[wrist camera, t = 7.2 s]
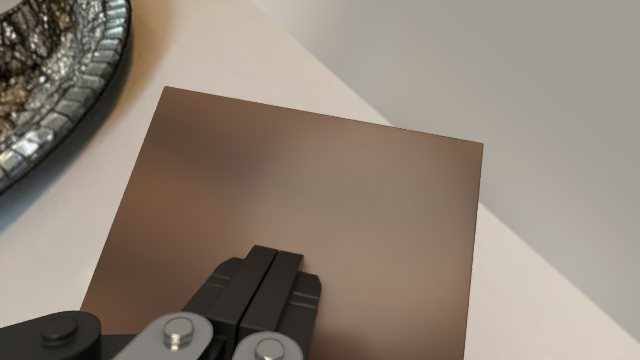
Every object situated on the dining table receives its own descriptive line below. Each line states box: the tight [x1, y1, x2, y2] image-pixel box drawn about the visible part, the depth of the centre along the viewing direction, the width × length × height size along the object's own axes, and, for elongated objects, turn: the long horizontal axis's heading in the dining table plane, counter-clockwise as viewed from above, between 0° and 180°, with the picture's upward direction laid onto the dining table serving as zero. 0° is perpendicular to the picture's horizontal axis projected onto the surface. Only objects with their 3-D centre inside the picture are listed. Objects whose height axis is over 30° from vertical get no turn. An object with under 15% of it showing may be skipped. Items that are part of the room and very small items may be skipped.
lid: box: [80, 86, 483, 360], centre depth 11 cm, size 14×12×1 cm
